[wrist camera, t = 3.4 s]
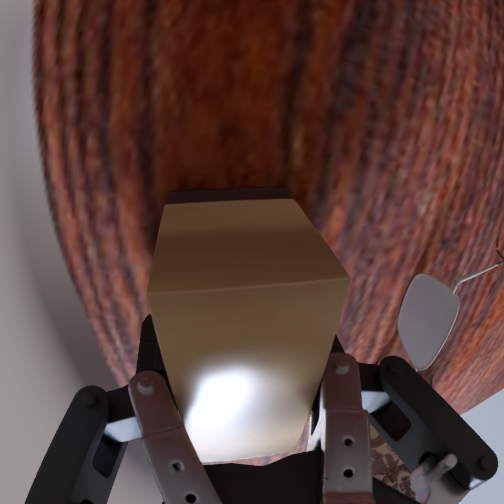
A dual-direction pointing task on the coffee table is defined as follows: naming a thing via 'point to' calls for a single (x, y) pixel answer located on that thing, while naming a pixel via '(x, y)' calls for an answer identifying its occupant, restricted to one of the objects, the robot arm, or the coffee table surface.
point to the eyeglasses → (429, 316)
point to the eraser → (243, 317)
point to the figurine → (389, 465)
